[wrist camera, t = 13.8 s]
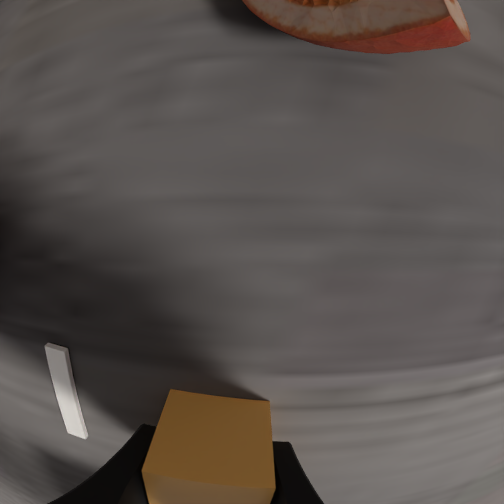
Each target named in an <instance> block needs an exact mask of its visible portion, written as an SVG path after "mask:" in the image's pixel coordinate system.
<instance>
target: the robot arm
mask: <svg viewBox="0 0 504 504" xmlns="http://www.w3.org/2000/svg"><path fill="white" fill-rule="evenodd" d="M156 428H157V427H156V426H151V425H146V424H142V425H141V426H140V427H139V428H138V430H137V431H136V432H135V433H134V434H133V436H132V437H131V438H130V439H129V440H128V441H127V442H126V444H125V445H124V446H123V447H122V448H121V449H120V450H119V451H118V452H117V453H116V454H115V455H114V456H113V457H112V458H111V459H110V460H109V461H108V462H107V463H106V464H105V465H104V466H102V467H101V468H100V469H99V470H98V471H97V472H95V473H94V474H93V475H92V476H91V477H89V478H88V479H87V480H86V481H84V482H83V483H81V484H80V485H79V486H77V487H76V488H74V489H73V490H71V491H70V492H68V493H66V494H65V495H63V496H61V497H59V498H58V499H56V500H54V501H52V502H50V503H48V504H149V501H148V497H147V493H146V488H145V484H144V480H143V475H142V468H143V465H144V462H145V459H146V456H147V453H148V451H149V448H150V445H151V442H152V439H153V436H154V433H155V431H156ZM272 443H273V457H274V472H275V486H276V489H275V491H274V494H273V497H272V499H271V502H270V504H324V503H323V501H322V500H321V499H320V497H319V496H318V494H317V493H316V491H315V489H314V488H313V486H312V485H311V483H310V481H309V480H308V478H307V476H306V474H305V473H304V471H303V469H302V467H301V465H300V463H299V461H298V459H297V457H296V455H295V452H294V450H293V447H292V445H291V443H289V442H277V441H272Z"/></svg>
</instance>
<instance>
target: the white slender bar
mask: <svg viewBox="0 0 504 504" xmlns="http://www.w3.org/2000/svg"><path fill="white" fill-rule="evenodd" d="M45 351H46V356H47V360H48V365H49V369H50V373H51V378H52V382H53V385H54V389H55V393H56V396H57V400H58V403H59V407H60V410H61V413H62V416H63V419H64V423H65V426H66V428H67V431H68V433H70V434H72V435H75V436H78V437H81V438H83V439H86V438H87V436H88V433H87V430H86V426H85V423H84V419H83V416H82V412H81V408H80V404H79V400H78V396H77V392H76V387H75V383H74V378H73V373H72V368H71V363H70V357H69V352H68V348H65V347H62V346H58V345H55V344H52V343H49V342H48V343H47V344H46V345H45Z"/></svg>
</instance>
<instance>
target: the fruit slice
mask: <svg viewBox="0 0 504 504" xmlns="http://www.w3.org/2000/svg"><path fill="white" fill-rule="evenodd" d="M242 1H243V2H244V3H245V5H246V6H247V7H248V8H249V9H250V10H251V11H252V12H253V13H254V14H255V15H257V16H258V17H259V18H261V19H262V20H263V21H265V22H266V23H268V24H269V25H271V26H273V27H275V28H277V29H279V30H281V31H283V32H285V33H287V34H289V35H291V36H293V37H295V38H298V39H301V40H304V41H307V42H310V43H313V44H316V45H320V46H325V47H330V48H335V49H342V50H348V51H358V52H364V53H381V54H391V53H398V52H413V51H419V50H431V49H437V48H446V47H452V46H457V45H459V44H461V43H464V42H468V41H470V32H469V28H468V25H467V22H466V19H465V16H464V14H463V11H462V9H461V7H460V5H459V3H458V2H457V0H242Z"/></svg>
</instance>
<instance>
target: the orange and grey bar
mask: <svg viewBox="0 0 504 504" xmlns="http://www.w3.org/2000/svg"><path fill="white" fill-rule="evenodd" d="M142 475H143V480H144V484H145V488H146V493H147V497H148V501H149V504H270V502H271V499H272V497H273V494H274V491H275V489H276V486H275V472H274V457H273V443H272V429H271V415H270V402H269V401H261V400H250V399H239V398H230V397H221V396H213V395H206V394H199V393H192V392H186V391H180V390H174V389H170V392H169V394H168V397H167V400H166V403H165V405H164V408H163V411H162V414H161V417H160V419H159V422H158V425H157V428H156V431H155V433H154V436H153V439H152V442H151V445H150V448H149V451H148V453H147V456H146V459H145V462H144V465H143V468H142Z"/></svg>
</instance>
